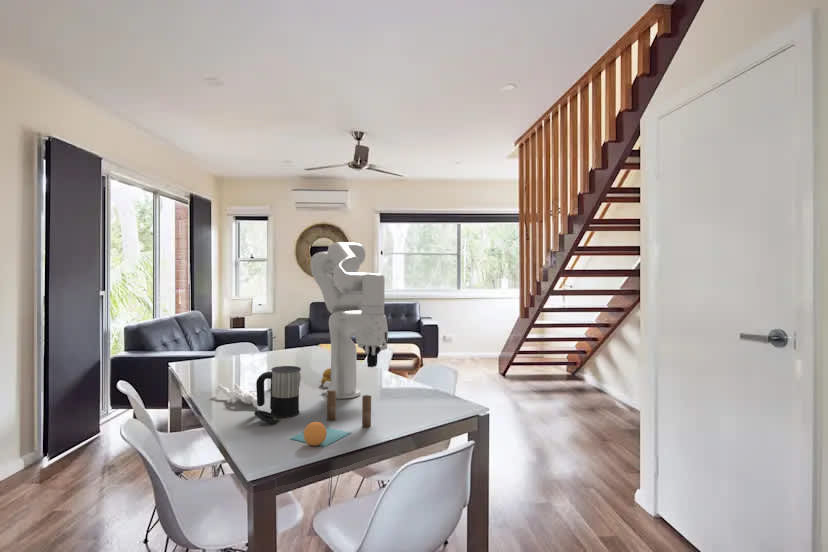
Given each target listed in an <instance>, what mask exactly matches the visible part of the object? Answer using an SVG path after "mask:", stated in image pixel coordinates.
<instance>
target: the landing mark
mask: <svg viewBox="0 0 828 552" xmlns="http://www.w3.org/2000/svg"><path fill="white" fill-rule="evenodd" d="M325 428H326V431H327V435H326V438H325V440H324V441H323V442H322V443H321V444H319V445H318V447H319V446H320V447H323V448H325V447H328V446H329V445H332V444H333V443H335V442H338V441H339V440H341V439H343V438H345V437H347V436H349V435H351V434H352V432H351V431H346V430H340V429H336V428H331V427H327V426H325ZM289 440H294V441H298V442H302V443H306V444H308V443H307V442H306V441H305V439H304V431H303V432H301V433H299V434H296V435H294V436H292V437H290V438H289Z"/></svg>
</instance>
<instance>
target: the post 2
mask: <svg viewBox="0 0 828 552" xmlns="http://www.w3.org/2000/svg"><path fill="white" fill-rule="evenodd" d="M361 401H362V405H361V406H362V408H361V411H362V413H361V414H362V416H361V418H362V419H361V427H362V428H363V429H368V428H371V427H372V396H371V395H368V394H366V395H365V394H364V395H362V400H361Z"/></svg>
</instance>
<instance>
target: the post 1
mask: <svg viewBox="0 0 828 552" xmlns="http://www.w3.org/2000/svg"><path fill="white" fill-rule="evenodd" d="M326 392H327V395H326V398H327V399H326V402H327V403H326V405H327V407H326V420H327V421H329V422H334V421H336V418H337V417H336V416H337V415H336V409H337V408H336V404H337V403H336V402H337V401H336V400H337V399H336V390H326Z"/></svg>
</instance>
